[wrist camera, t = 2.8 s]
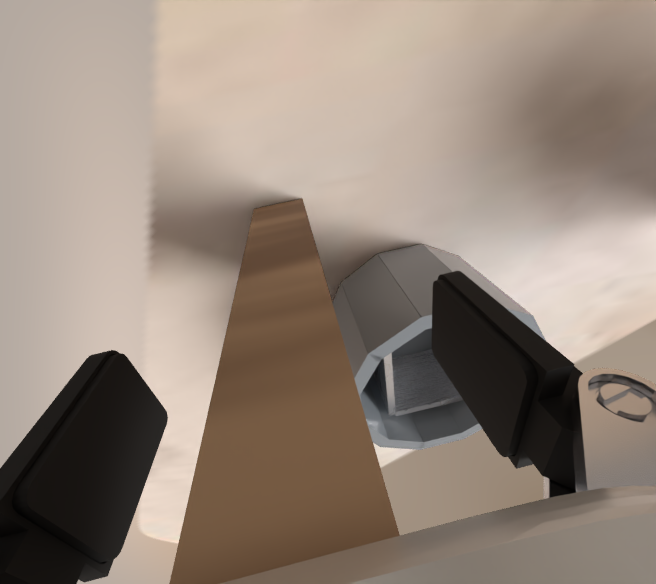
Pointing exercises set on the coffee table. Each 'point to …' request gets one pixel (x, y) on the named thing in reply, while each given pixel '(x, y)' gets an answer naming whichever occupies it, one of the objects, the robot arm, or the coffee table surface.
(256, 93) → the coffee table surface
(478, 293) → the robot arm
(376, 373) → the grey hollow box
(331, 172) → the coffee table surface
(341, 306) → the faceted hollow tube
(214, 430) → the brown wooden bar
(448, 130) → the coffee table surface
